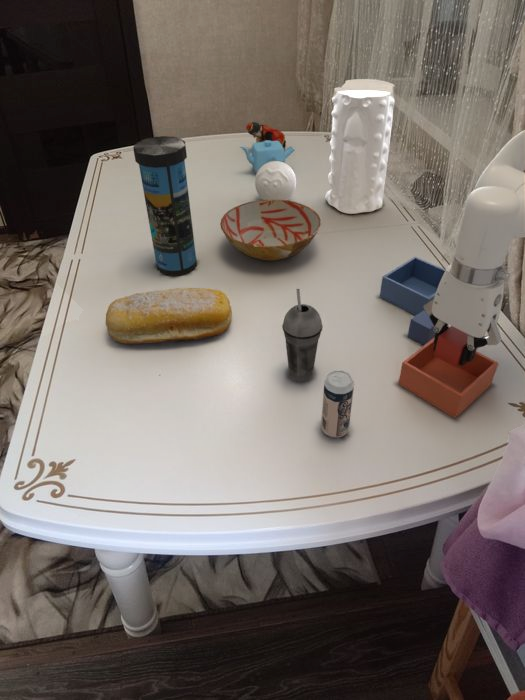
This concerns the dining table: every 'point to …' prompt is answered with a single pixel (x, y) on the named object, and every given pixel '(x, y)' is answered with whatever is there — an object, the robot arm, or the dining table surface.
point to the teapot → (266, 153)
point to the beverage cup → (301, 339)
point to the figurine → (265, 133)
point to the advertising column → (167, 203)
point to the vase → (360, 144)
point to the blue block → (421, 328)
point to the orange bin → (446, 379)
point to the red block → (451, 346)
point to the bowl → (270, 228)
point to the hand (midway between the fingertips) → (452, 354)
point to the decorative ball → (275, 181)
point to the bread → (169, 315)
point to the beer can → (337, 403)
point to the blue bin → (411, 284)
